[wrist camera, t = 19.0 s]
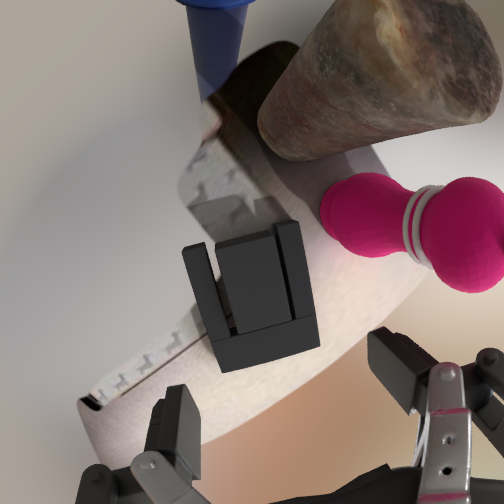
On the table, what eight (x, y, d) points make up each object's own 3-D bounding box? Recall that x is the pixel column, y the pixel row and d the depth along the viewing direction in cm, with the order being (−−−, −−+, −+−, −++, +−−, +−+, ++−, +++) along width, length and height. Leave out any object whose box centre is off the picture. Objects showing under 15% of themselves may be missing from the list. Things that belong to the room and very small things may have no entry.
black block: (214, 243, 25) (214, 249, 22) (267, 230, 26) (274, 234, 23) (236, 320, 27) (238, 334, 24) (284, 307, 27) (292, 320, 24)
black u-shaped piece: (183, 247, 25) (181, 251, 23) (292, 219, 26) (298, 221, 24) (221, 363, 28) (222, 373, 26) (314, 337, 29) (320, 346, 27)
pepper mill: (388, 218, 27) (556, 260, 7) (339, 261, 27) (500, 360, 8) (354, 161, 25) (537, 137, 6) (299, 203, 25) (482, 233, 6)
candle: (345, 141, 25) (523, 91, 5) (288, 181, 25) (465, 159, 5) (300, 80, 23) (421, -50, 4) (239, 115, 23) (300, -51, 4)
